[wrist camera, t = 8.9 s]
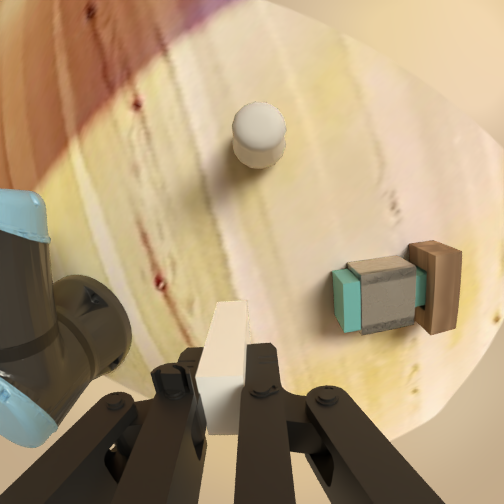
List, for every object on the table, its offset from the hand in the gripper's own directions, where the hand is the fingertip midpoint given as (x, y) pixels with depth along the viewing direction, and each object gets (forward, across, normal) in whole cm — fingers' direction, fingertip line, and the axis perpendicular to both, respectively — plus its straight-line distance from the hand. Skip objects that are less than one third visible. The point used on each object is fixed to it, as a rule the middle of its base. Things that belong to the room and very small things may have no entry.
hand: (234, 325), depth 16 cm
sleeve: (+22, +16, -7) cm, 28 cm away
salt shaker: (+23, +2, +11) cm, 25 cm away
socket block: (+22, +23, -6) cm, 33 cm away
